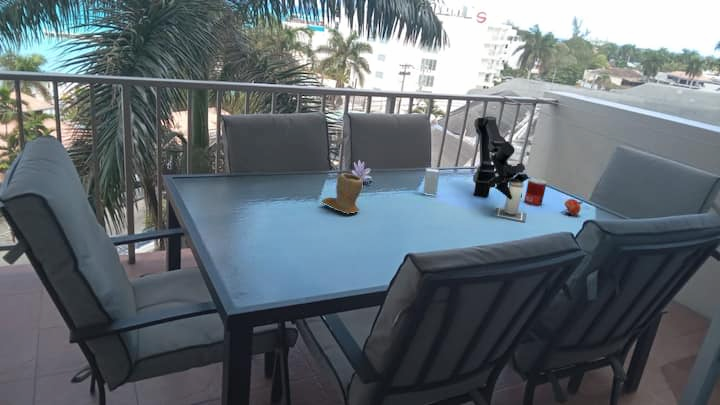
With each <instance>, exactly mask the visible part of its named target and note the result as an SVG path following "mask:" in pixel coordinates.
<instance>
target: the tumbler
mask: <svg viewBox="0 0 720 405" xmlns="http://www.w3.org/2000/svg"><path fill="white" fill-rule="evenodd" d="M524 186H525V183H524V182H519V181H509V182H508V188H509V190H510V193H511V196H512V199H509V198H508V197H506V200H505V204H504V208H503V209H504V212H506V213H509V214H517V213H518V212H519V207H520V202H521V198H522V197H521V194H522V193H523V190H524V189H523V188H524ZM522 195H523V194H522Z"/></svg>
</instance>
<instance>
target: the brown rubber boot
mask: <svg viewBox="0 0 720 405" xmlns="http://www.w3.org/2000/svg"><path fill="white" fill-rule="evenodd" d="M363 182H364V180H363V179H361V178H360V177H358V176H356V175H354V174H353V173H346V172H343V173H341V174H339V175H338V176H337V182H336V197H326V198H324V199H322V200H321V201H320V203H321V202H323V203H325V204H327V205H329V206H331V207H333V208H335V209H337V210H339V211H341V212H345V213H351V212H356V211H358V210H359V211H360V208H359V207H358V206H357V204H356V203H357V202H356V201H357V200H358V198H359V195H360V194H361V192H362V188H363ZM359 211H358V212H359ZM341 212H340V213H341Z"/></svg>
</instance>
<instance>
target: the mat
mask: <svg viewBox="0 0 720 405" xmlns="http://www.w3.org/2000/svg"><path fill="white" fill-rule="evenodd" d="M493 218H500V219H504V220H510V221H515V222H520V223H523V224H525V223H526V221H527V213H526V212H521V211H518V213H517V214H509V213H506V212H504V208H500V207H495V210H494V213H493Z"/></svg>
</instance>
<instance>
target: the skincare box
mask: <svg viewBox="0 0 720 405" xmlns="http://www.w3.org/2000/svg"><path fill="white" fill-rule="evenodd" d="M424 175H425V176H424V186H423V191H424V193H427V194H433V195H436V196H437V193H438V187H439V186H438V184H439V179H440V177H439V176H440V170H439V169H433V168H426V169H425V174H424Z"/></svg>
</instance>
